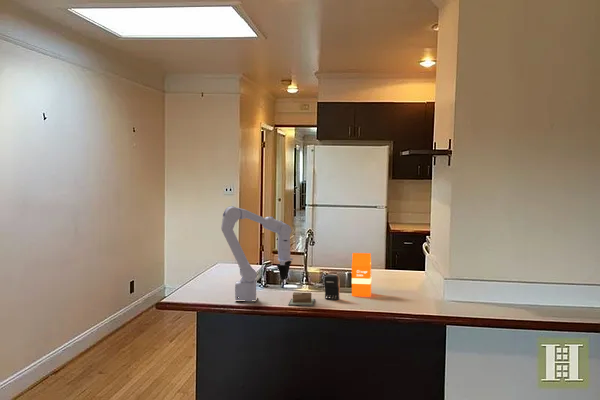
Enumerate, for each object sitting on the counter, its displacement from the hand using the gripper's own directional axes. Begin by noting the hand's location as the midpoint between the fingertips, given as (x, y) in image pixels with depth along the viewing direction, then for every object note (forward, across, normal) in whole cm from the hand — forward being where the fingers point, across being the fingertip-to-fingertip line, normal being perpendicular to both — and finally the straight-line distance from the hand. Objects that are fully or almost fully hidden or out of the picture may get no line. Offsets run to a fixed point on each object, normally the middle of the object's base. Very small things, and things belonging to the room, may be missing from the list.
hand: (284, 278), depth 244 cm
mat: (+9, -9, -9) cm, 16 cm away
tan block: (+9, -9, -9) cm, 15 cm away
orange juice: (+10, +9, -36) cm, 38 cm away
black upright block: (+10, -2, -22) cm, 24 cm away
